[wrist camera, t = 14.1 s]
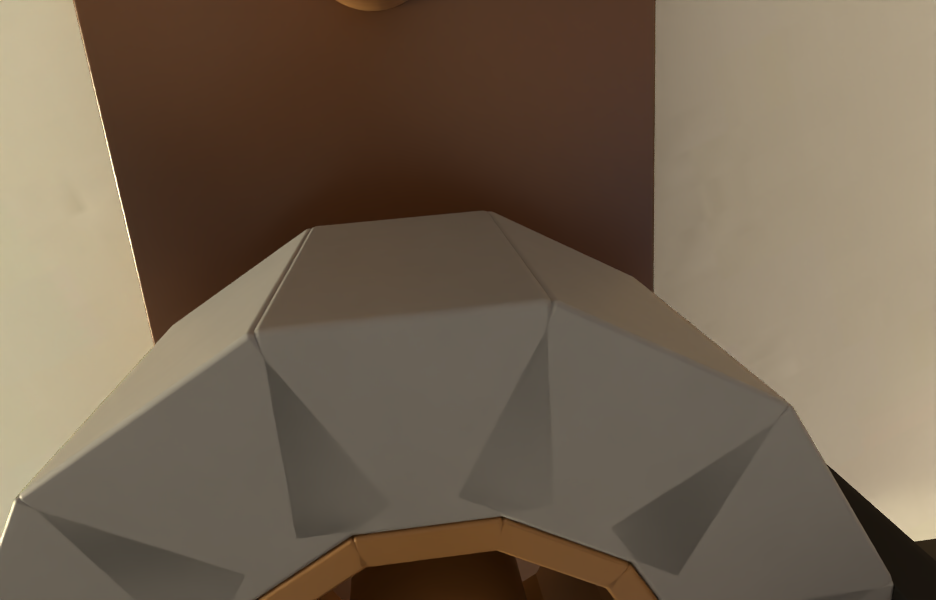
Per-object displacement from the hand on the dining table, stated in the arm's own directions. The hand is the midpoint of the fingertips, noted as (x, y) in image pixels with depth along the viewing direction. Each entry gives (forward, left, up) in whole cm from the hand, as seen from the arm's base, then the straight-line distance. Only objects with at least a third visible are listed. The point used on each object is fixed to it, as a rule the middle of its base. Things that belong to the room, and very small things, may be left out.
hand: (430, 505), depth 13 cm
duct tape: (0, 0, 0) cm, 0 cm away
